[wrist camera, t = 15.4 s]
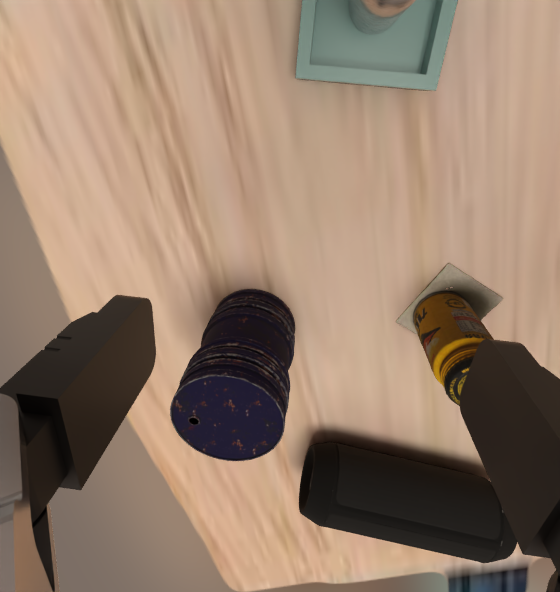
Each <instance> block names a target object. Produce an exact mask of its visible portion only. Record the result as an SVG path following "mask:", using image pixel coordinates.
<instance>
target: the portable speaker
mask: <svg viewBox="0 0 560 592" xmlns="http://www.w3.org/2000/svg"><path fill="white" fill-rule="evenodd" d="M299 510H300V513H301V514H302V515H304V516H305V517H307V518H308V519H310V520H311V521H312V522H314V523H315V524H317V525H319V526H322V527H328V528H333V529H337V530H341V531H346V532H350V533H355V534H359V535H363V536H368V537H372V538H377V539H381V540H385V541H390V542H394V543H399V544H403V545H407V546H412V547H416V548H421V549H425V550H429V551H434V552H438V553H443V554H447V555H451V556H456V557H460V558H465V559H469V560H473V561H478V562H481V563H489V562H494V561H498V560H502V559H506V558H508V557H509V556H510V555H511V554H512V553H513V551H514V549H515V547H516V544H517V540H516V537H515V535H514V533H513V531H512V528H511V526H510V524H509V522H508V519H507V517H506V515H505V512H504V510H503V508H502V506H501V503H500V501H499V499H498V497H497V494H496V492H495V490H494V487H493V485H492V483H491V482H490V481H488V480H487V479H485V478H483V477H479V476H476V475H472V474H467V473H463V472H459V471H454V470H450V469H446V468H442V467H437V466H433V465H429V464H424V463H420V462H416V461H411V460H407V459H403V458H398V457H394V456H390V455H385V454H381V453H377V452H373V451H368V450H364V449H360V448H355V447H351V446H347V445H342V444H338V443H336V444H335V443H332V442H329V443H322V444H315V445H311V446H310V448H309V450H308V452H307V455H306V458H305V462H304V466H303V471H302V476H301V483H300V492H299Z"/></svg>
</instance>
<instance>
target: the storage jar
mask: <svg viewBox="0 0 560 592" xmlns="http://www.w3.org/2000/svg"><path fill="white" fill-rule="evenodd" d="M294 333H295V322H294V318H293V315H292V313H291V311H290V309H289V308H288V307H287V305H286V304H285V303H284V302H283V301H282V300H281V299H279V298H278V297H276V296H275V295H273V294H271V293H268V292H265V291H262V290H256V289H246V290H240V291H236V292H234V293H232V294H230V295H228V296H227V297H225V298H224V299H223V300H222V301H221V302H220V304H219V305H218V307H217V309H216V311H215V313H214V314H213V316H212V317H211V319H210V321H209V323H208V325H207V327H206V329H205V331H204V333H203V337H202V341H201V347H200V349H199V350H198V351H197V352H196V353H195V354H194V355H193V357H192V358H191V359H190V362H189V364H188V366H187V368H186V370H185V372H184V374H183V376H182V379H181V381H180V385H179V388H178V390H177V392H176V394H175V396H174V398H173V400H172V403H171V407H170V416H171V421H172V423H173V426H174V428H175V430H176V431H177V433H178V434H179V436H180V437H181V438H182V439H183V440H184V441H185V442H186V443H187V444H188V445H190V446H191V447H192V448H194V449H195V450H197V451H199V452H201V453H203V454H205V455H207V456H210V457H213V458H217V459H221V460H227V461H245V460H251V459H255V458H258V457H261V456H263V455H265V454H267V453H268V452H270V451H271V450H272V449H274V448H275V447H276V446H277V444H278V443H279V442H280V440H281V438H282V436H283V432H284V427H285V416H286V412H287V408H288V402H289V392H290V380H289V374H288V370H289V368H290V366H291V363H292V360H293V356H294V344H295V336H294Z"/></svg>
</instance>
